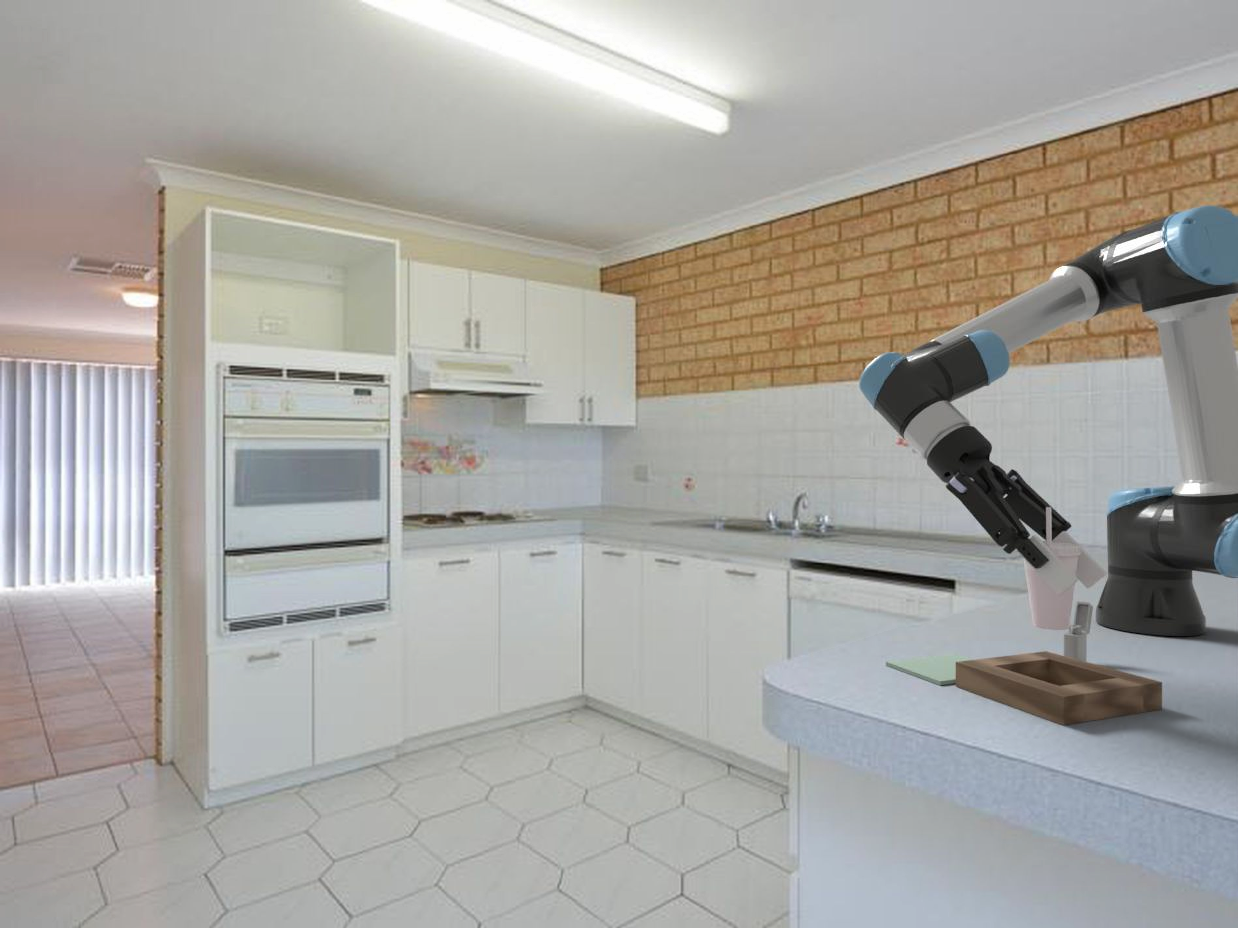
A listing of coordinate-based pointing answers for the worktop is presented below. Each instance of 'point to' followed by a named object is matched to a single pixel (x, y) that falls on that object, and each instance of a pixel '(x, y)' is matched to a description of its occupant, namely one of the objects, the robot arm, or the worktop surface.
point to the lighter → (1078, 632)
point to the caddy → (1059, 687)
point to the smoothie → (1043, 599)
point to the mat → (931, 667)
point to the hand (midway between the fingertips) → (1083, 583)
